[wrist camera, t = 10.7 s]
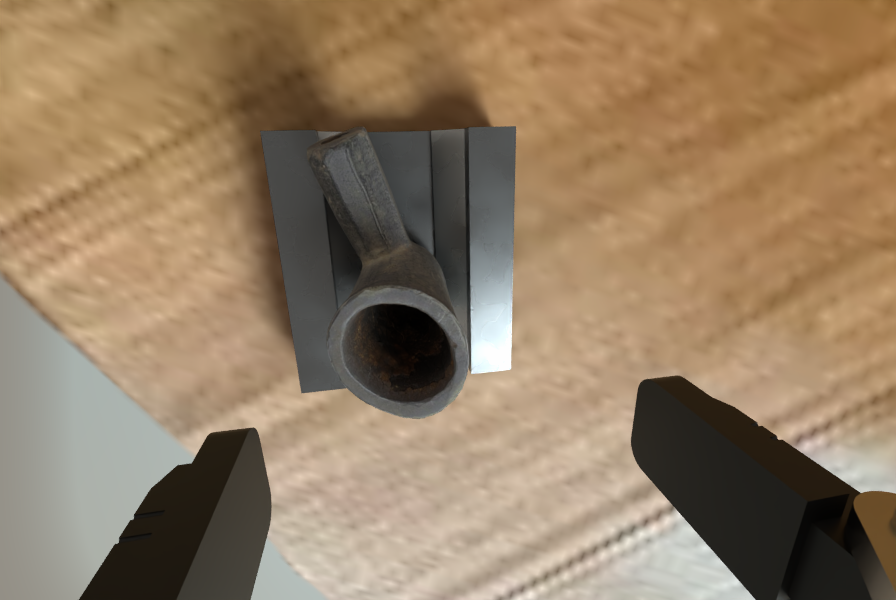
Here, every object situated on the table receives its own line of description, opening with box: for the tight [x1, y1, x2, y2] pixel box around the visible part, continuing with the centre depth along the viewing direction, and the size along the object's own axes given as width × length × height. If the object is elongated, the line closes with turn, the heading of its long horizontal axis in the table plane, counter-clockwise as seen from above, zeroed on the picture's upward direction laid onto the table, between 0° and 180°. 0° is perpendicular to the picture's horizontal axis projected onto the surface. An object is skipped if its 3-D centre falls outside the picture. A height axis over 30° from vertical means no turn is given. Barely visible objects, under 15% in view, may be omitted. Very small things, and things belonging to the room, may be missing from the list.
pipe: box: [307, 126, 469, 419], centre depth 21 cm, size 6×13×8 cm, turn 20°
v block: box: [260, 126, 516, 393], centre depth 25 cm, size 14×12×4 cm
